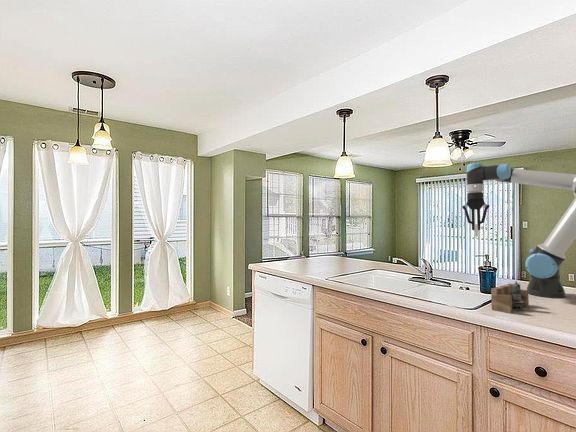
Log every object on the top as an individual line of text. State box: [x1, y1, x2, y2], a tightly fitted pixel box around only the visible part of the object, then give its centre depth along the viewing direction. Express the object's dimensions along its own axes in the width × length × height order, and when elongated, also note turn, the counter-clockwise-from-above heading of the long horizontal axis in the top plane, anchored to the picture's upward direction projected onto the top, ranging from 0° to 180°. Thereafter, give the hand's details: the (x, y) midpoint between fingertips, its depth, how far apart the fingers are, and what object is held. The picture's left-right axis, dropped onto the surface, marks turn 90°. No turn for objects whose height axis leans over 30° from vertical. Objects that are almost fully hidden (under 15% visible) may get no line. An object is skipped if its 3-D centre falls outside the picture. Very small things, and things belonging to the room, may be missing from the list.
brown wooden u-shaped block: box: [490, 283, 530, 314], centre depth 139 cm, size 18×7×9 cm, turn 123°
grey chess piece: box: [511, 280, 525, 312], centre depth 138 cm, size 6×6×12 cm
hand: (476, 236), depth 172 cm, fingers closed
